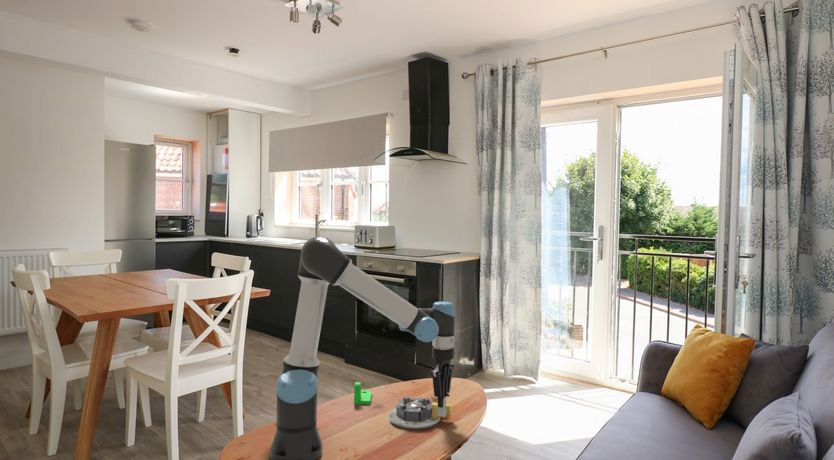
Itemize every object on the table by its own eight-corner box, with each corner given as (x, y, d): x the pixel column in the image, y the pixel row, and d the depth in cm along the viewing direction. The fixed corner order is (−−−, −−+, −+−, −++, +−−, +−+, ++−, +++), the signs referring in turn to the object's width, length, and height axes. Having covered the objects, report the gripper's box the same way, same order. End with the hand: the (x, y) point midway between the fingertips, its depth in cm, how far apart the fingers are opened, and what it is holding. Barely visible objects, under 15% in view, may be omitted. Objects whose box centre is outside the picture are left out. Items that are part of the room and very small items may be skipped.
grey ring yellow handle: (394, 419, 165) (394, 407, 165) (400, 406, 178) (400, 394, 178) (448, 423, 163) (449, 411, 163) (451, 409, 175) (451, 398, 175)
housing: (398, 432, 159) (398, 414, 159) (383, 412, 176) (383, 396, 176) (456, 424, 166) (456, 407, 166) (436, 405, 183) (436, 390, 183)
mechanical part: (370, 406, 183) (370, 385, 182) (354, 406, 182) (354, 384, 182) (372, 395, 195) (372, 375, 194) (357, 394, 194) (357, 375, 194)
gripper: (444, 352, 160) (442, 424, 159) (460, 345, 171) (459, 412, 171) (424, 349, 163) (423, 419, 163) (441, 342, 175) (440, 408, 174)
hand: (441, 415), depth 167 cm, fingers closed
